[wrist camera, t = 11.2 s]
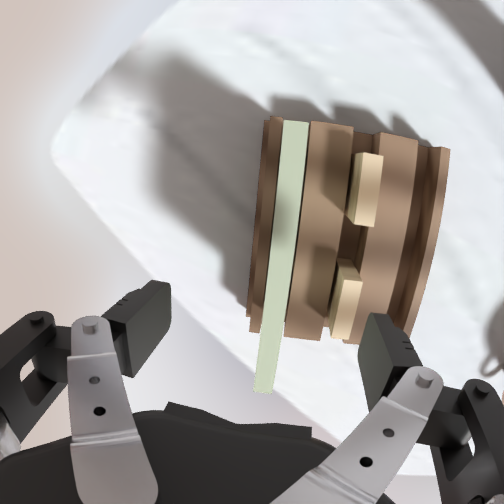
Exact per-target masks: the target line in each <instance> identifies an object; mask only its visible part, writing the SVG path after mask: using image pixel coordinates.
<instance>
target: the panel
mask: <svg viewBox="0 0 504 504" xmlns="http://www.w3.org/2000/svg"><path fill="white" fill-rule="evenodd" d="M308 126H309V123H308V122H300V121H291V120H284V124H283V134H282V145H281V155H280V165H279V175H278V185H277V194H276V204H275V213H274V222H273V232H272V241H271V250H270V259H269V267H268V276H267V285H266V293H265V301H264V310H263V318H262V326H261V334H260V342H259V350H258V358H257V366H256V373H255V381H254V389H253V391H254V392H261V393H268V394H272V389H273V384H274V378H275V373H276V367H277V361H278V355H279V349H280V343H281V337H282V331H283V325H284V319H285V312H286V306H287V299H288V292H289V286H290V279H291V272H292V264H293V257H294V250H295V242H296V235H297V227H298V219H299V211H300V202H301V194H302V185H303V176H304V167H305V157H306V147H307V137H308Z"/></svg>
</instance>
